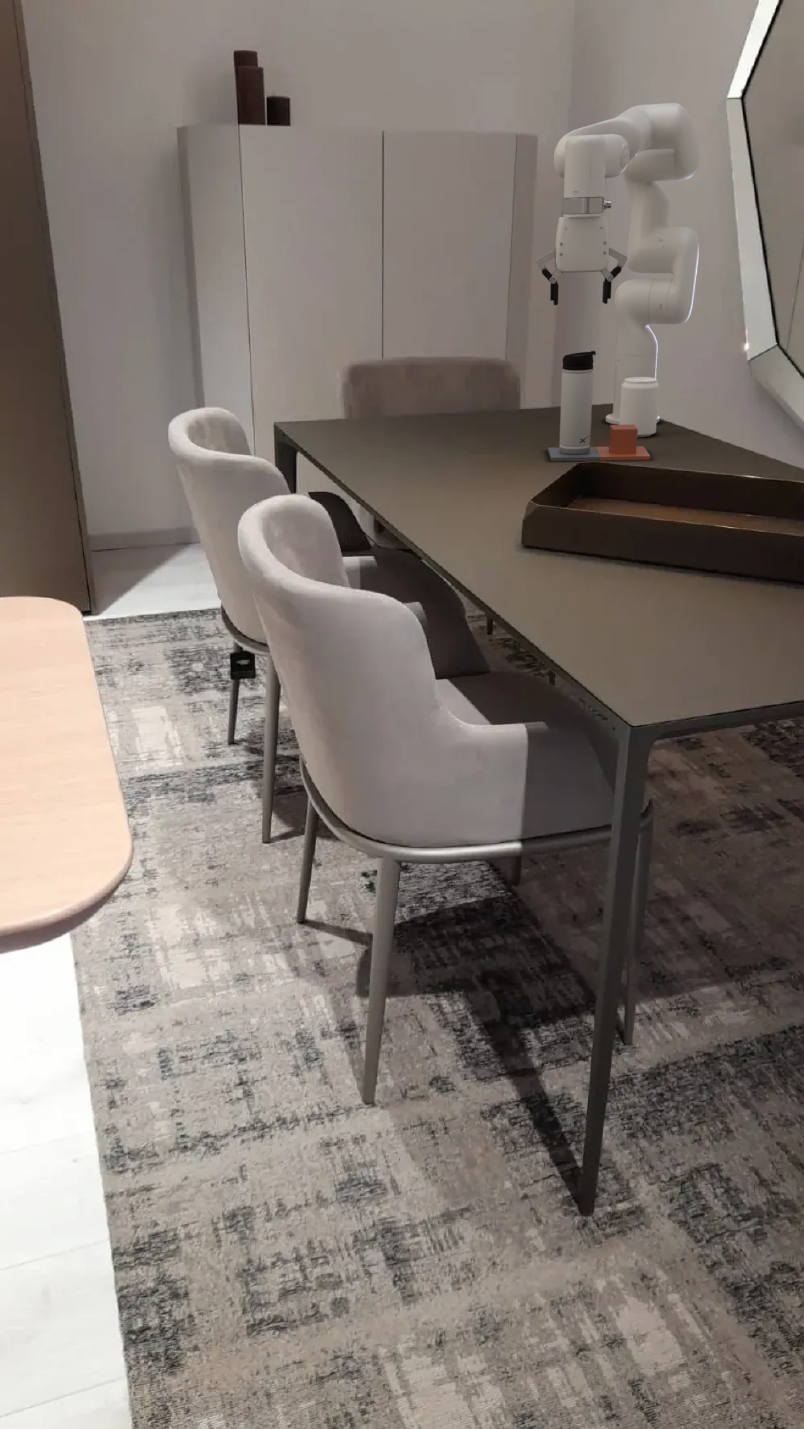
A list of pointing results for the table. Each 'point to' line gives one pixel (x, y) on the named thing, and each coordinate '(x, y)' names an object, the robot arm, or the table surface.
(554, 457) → the sorting board
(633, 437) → the terracotta block
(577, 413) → the travel mug
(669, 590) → the table surface
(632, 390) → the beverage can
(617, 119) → the robot arm
